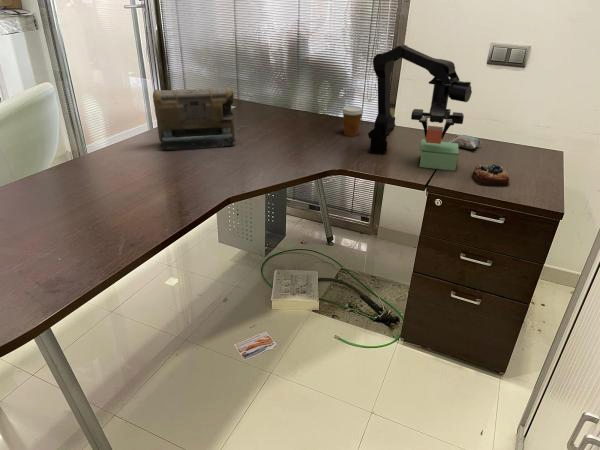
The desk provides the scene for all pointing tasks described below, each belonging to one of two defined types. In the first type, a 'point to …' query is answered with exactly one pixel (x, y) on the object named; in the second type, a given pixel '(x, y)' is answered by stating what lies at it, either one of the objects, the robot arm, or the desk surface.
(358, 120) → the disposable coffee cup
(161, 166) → the desk surface
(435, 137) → the red cube
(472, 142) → the packaged food
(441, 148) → the lunchbox lid
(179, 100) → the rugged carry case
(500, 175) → the pastry
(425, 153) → the lunchbox
